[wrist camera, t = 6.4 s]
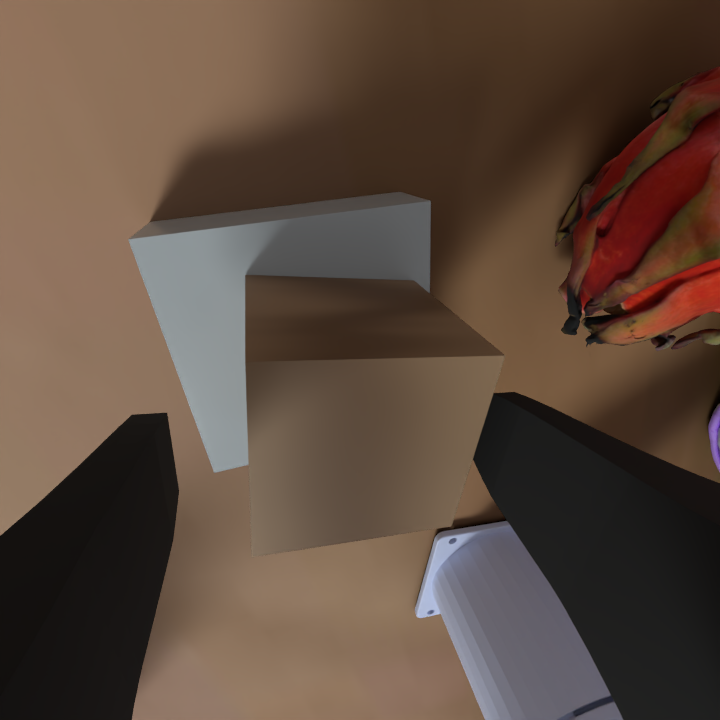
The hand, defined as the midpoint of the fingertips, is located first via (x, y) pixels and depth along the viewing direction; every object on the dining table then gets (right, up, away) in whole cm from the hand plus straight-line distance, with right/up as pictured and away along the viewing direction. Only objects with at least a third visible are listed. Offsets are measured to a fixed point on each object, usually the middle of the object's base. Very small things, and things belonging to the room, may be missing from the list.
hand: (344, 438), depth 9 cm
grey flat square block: (-2, +3, +6) cm, 7 cm away
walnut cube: (-1, +2, +4) cm, 4 cm away
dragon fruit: (+11, +8, +7) cm, 16 cm away
